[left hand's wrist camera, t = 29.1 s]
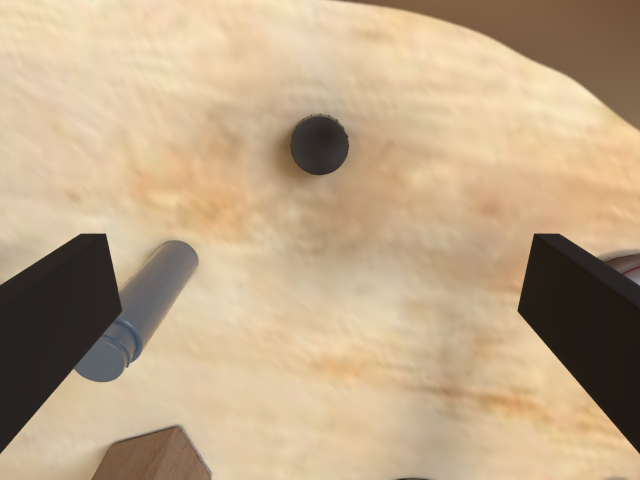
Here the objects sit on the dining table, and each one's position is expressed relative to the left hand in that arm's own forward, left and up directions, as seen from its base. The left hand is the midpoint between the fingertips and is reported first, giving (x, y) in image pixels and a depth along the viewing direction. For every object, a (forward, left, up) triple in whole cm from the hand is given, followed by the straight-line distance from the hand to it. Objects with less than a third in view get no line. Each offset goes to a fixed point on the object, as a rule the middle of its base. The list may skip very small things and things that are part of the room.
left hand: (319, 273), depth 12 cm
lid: (0, 0, -25) cm, 25 cm away
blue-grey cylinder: (-15, +12, -27) cm, 33 cm away
